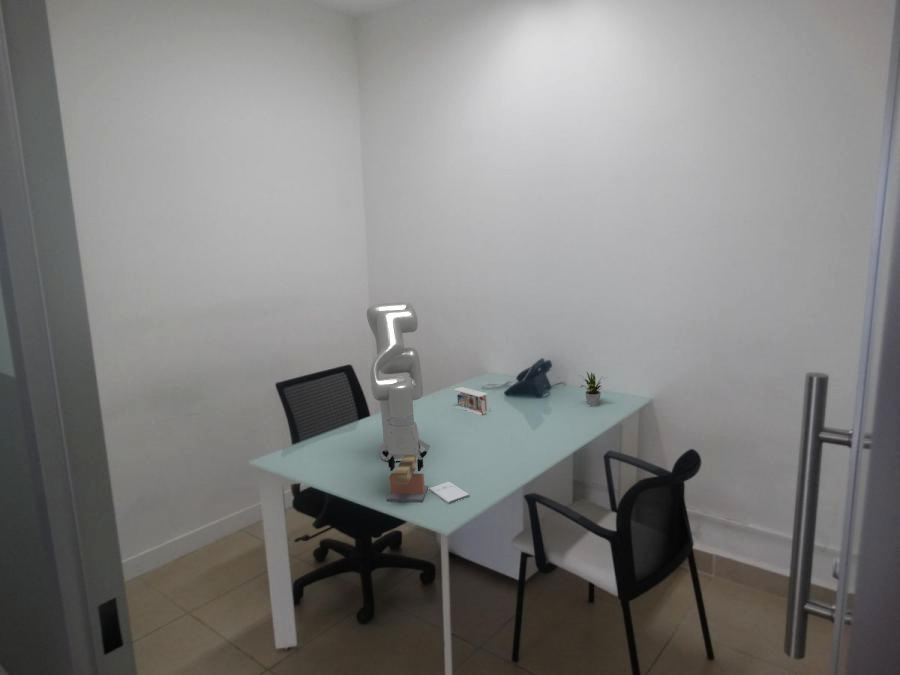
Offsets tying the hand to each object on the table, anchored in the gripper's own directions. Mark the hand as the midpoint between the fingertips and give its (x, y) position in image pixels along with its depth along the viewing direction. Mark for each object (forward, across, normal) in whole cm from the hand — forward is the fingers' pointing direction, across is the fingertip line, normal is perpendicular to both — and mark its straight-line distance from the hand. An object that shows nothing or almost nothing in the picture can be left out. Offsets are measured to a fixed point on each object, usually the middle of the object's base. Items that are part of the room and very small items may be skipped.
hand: (406, 469), depth 188 cm
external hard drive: (+10, +14, +1) cm, 17 cm away
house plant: (+9, +67, +96) cm, 117 cm away
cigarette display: (+9, +11, +88) cm, 89 cm away
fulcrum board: (+9, 0, 0) cm, 9 cm away
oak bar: (+2, 0, 0) cm, 2 cm away
